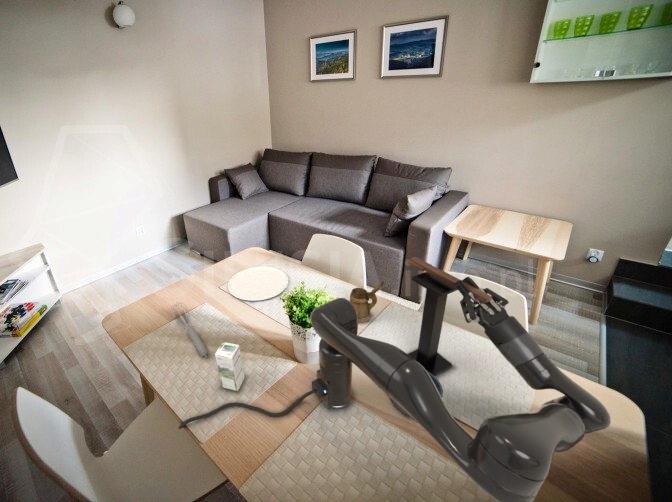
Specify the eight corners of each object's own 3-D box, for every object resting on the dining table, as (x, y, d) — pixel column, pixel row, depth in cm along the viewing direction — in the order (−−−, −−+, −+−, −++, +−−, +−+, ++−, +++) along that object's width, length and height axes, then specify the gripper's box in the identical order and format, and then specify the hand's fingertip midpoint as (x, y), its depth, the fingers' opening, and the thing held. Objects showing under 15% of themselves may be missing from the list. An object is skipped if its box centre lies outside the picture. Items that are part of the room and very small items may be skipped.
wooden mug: (378, 329, 121) (381, 289, 114) (343, 318, 128) (344, 279, 121) (384, 315, 128) (387, 276, 121) (351, 306, 135) (352, 268, 127)
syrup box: (245, 377, 106) (239, 343, 100) (237, 392, 101) (231, 357, 95) (229, 373, 108) (223, 340, 102) (221, 388, 103) (214, 354, 97)
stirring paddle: (482, 304, 79) (483, 300, 79) (407, 263, 99) (407, 259, 99) (492, 300, 80) (493, 295, 80) (416, 259, 101) (416, 255, 100)
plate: (237, 309, 139) (237, 307, 138) (221, 277, 164) (221, 275, 163) (299, 291, 148) (298, 288, 147) (275, 262, 173) (274, 260, 172)
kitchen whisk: (199, 364, 113) (196, 350, 110) (170, 315, 139) (167, 302, 137) (215, 355, 116) (212, 342, 113) (184, 309, 142) (181, 297, 140)
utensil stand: (424, 382, 99) (438, 295, 86) (399, 360, 108) (409, 277, 94) (452, 367, 103) (469, 282, 90) (426, 347, 112) (439, 266, 98)
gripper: (543, 325, 76) (488, 265, 85) (504, 346, 71) (450, 280, 80) (519, 336, 82) (470, 279, 91) (482, 357, 77) (434, 294, 86)
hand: (461, 280), depth 85 cm, fingers closed on stirring paddle
